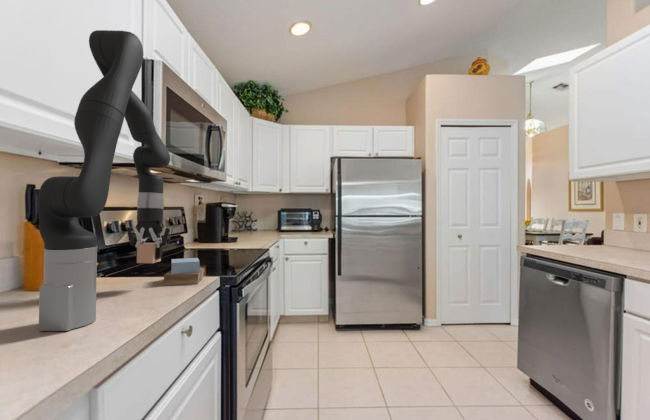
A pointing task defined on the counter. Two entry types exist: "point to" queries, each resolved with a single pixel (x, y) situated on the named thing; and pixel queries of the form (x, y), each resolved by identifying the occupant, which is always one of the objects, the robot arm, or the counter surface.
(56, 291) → the robot arm
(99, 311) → the counter surface
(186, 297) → the counter surface
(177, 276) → the base block
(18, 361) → the counter surface
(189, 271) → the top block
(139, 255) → the stack block
